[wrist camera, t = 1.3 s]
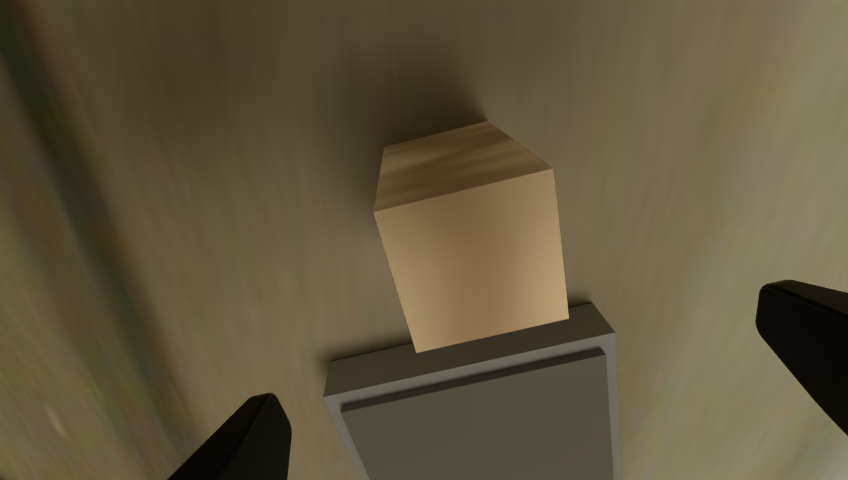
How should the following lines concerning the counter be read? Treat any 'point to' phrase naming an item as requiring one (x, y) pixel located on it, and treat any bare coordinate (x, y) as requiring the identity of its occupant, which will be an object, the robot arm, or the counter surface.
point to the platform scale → (486, 406)
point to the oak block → (470, 235)
